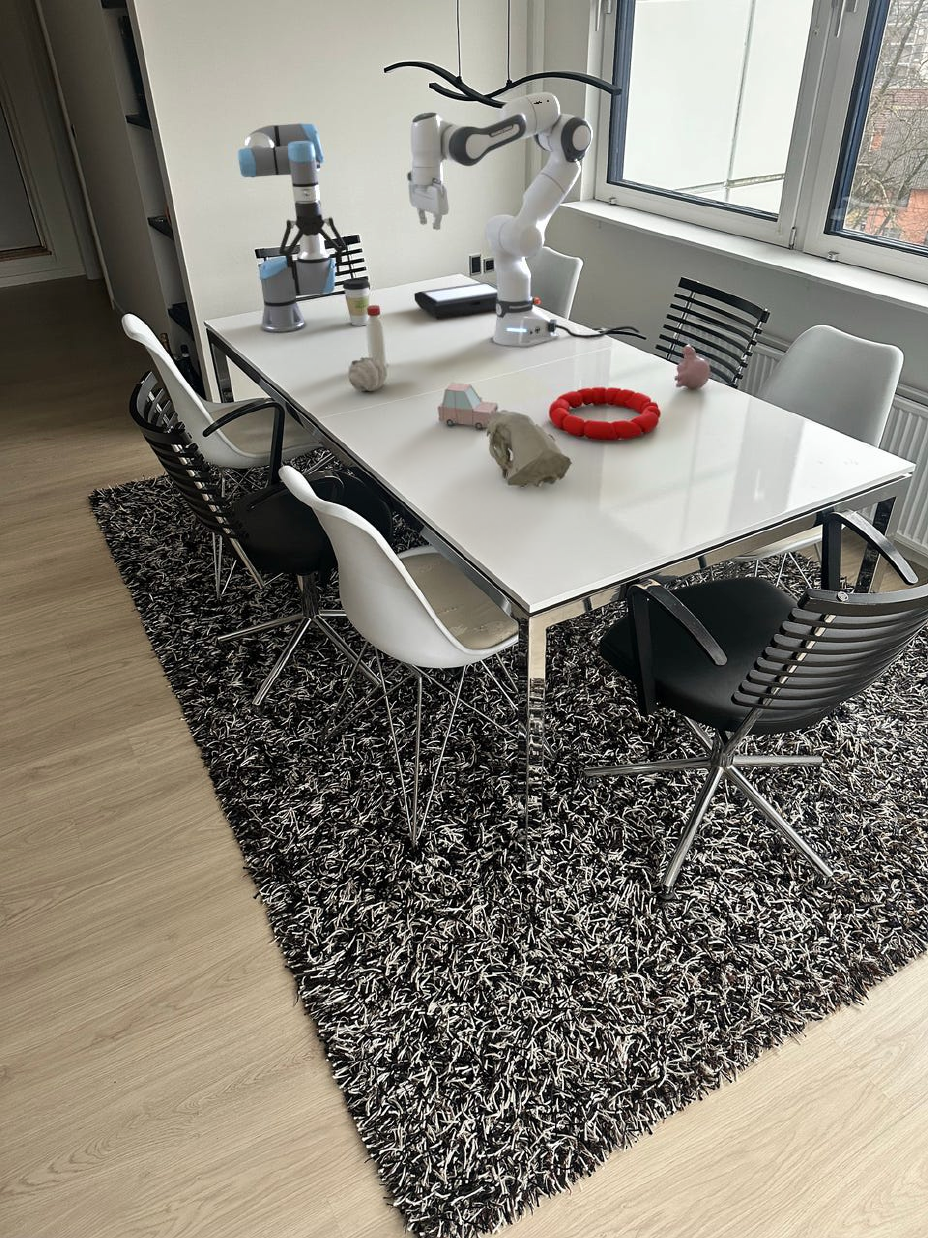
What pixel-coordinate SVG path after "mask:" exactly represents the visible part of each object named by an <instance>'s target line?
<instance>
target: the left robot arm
mask: <svg viewBox="0 0 928 1238" xmlns="http://www.w3.org/2000/svg"><path fill="white" fill-rule="evenodd" d="M237 158H238V159H237V160H238V165H239V172H240V176H242V177H243V178H257V177H273V176H290V177H291V186H292V193H293V194H292V195H293V202H294V209H295V218H296V219H295V220H291V219H286V228H285V231H284V234H283V237H282V241H281V244H280V247H279V250H278V253H279V255H280V256H277V257H273V258H270V259H267V260H264V261H263V262H261V263H260V265H259V266H258V270H259V280H260V285H261V286H260V287H261V292H262V299H263V313H262V319H261V326H262V330H264V331H265V332H271V333H286V332H293V331H296V330H297V331H298V330H300V329H302V328H304V326H305V319H304V317H303V314H302V312H301V310H300V307H299V306H298V305H299V304H298V303H297V297H300V296H301V297H302V296H303V297H304V296H314V295H315V296H316V295H321V296H322V295H327V294H332V293H333V292H334V290H335V286H336V285H335V284H336V276H337V277H341V271H340V265H342V264H343V256H342V255H343V254H342V253H343V252H344V251H347V249H348V247H347V244H346V242H345V241H344V239H343V238H342V236H341V234H340V232H339V231H338V229H337V228H336V226H335V223H334V219H333V217H332V216H328V217H327V218H323V213H322V203H321V201H320V199H321V195H320V194H321V193H320V185H319V179H318V178H319V177H318V173H319V172H320V170H321V164H323V163H324V162H325V159H324V155H323V150H322V145H321V141H320V137H319V133H318V129H317V127H316V125H315V124H313V123H290V124H288V123H287V124H275V125H274V124H271V125H266V126H263V127H260V128H258V129H256V130H253V131H252V132H251V133H250V134H248V136H247V137H246V139H245V142H244V148H239V149H238V150H237ZM325 224H326V225H327V227H330V229H331V231H332V233H333V234H334V236H335V238H336V240H337V242H338V244H339V245H340V246H339V245H338V244H337V242H335V240H333V238H331V237H330V235H329V234H328V233H327V232H326V231H325V230H324V229H323V227H324V225H325ZM295 226H296V228H297V233H296V235H295V236H294V238H293V239H292V240H291V243H290V244H289V246H288V247H287V249H286V246H287V243H288V241H289V238H290V235H291V230H293V229H294V227H295ZM325 241H326V242H327V243H328V244H329V245H330V246H331V247H332V248H333V249H334V250H335V251H334V258H332V257H331V253H330V252H329V251H328V250H327V249H326V247H325ZM298 243H299V250H300V251H298V253H297V254H296V260H294V258H293V254H292V252H294V250H295V248H296V246H297V245H298ZM285 249H286V250H285Z"/></svg>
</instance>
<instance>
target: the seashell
mask: <svg viewBox="0 0 928 1238" xmlns="http://www.w3.org/2000/svg"><path fill="white" fill-rule="evenodd" d="M387 377H388V368H387V366H385V364H384V362H383V361H381V362H380V361H379V360H378V359H377V358H376V359H375V358H369V356H367V357H363V356H362V357H360V359H359V360H357V359H353V360H351V362H350V364H349V366H348V371H347V378H348V382H349V384H350V385H351V386H352V387H353V388H354V389H355V390H357V391H361V392H364V391H365V392H366V391H368V392H373V391H377V390H379V389H380V388H381V387H382V386H383V384H384V383H385V382H386V380H387Z"/></svg>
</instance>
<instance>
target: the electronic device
mask: <svg viewBox="0 0 928 1238" xmlns="http://www.w3.org/2000/svg"><path fill="white" fill-rule="evenodd" d="M413 296H414V302H415V303H416V304H417V306H418V307H419V308H420V309H421V310H422V311H424V312H426V313H427V314H429V315H430V316H432V317H434V318H435V319H437V320H440V319H447V318H454V317H460V316H467V315H473V314H480V313H481V314H482V313H487V312H493V311H496V297H497V284H494V283H492V282H490V281H484V282H478V283H471V284H464V285H457V286H449V287H443V288H442V287H441V288H437V289H436V288H435V289H429V290H423V291H418V292H415V293H414V295H413Z"/></svg>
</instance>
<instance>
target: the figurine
mask: <svg viewBox="0 0 928 1238" xmlns="http://www.w3.org/2000/svg"><path fill="white" fill-rule="evenodd" d="M682 354H683V358H684V359H683V361H682V362H679V363H678V364H677V365H676V372H677V375H675V376H674V381H675V382H676V381H677V382H676V384H675V386H676V388H681V387H686V388H688V389H693V390H694V389H695V390H696V389H700V388H703V387H704V386H705V385H706V384H707V383H708V382H709V379H710V377H711V367H710V364H709V362H708V361H706V359H704V358H702V357H700V356H697V353H696V350H695V349H694V347H692V345H690V344H686V345H685V346H684V347H683V348H682Z"/></svg>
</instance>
